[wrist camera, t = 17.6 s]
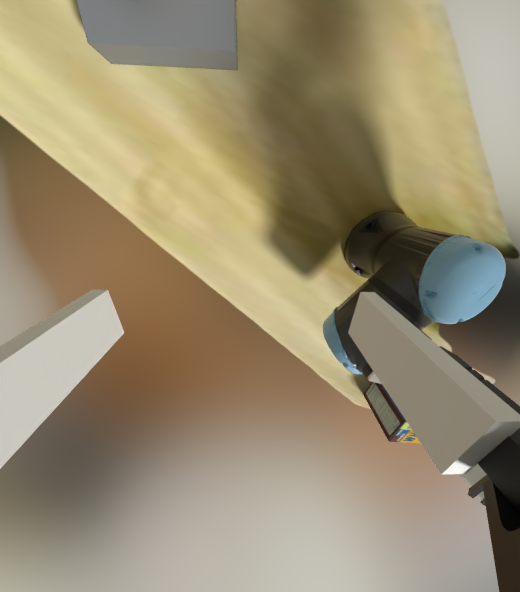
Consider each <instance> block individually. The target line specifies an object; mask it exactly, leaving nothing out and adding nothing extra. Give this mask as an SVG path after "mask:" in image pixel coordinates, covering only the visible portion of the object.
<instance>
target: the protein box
mask: <svg viewBox="0 0 520 592" xmlns="http://www.w3.org/2000/svg"><path fill="white" fill-rule="evenodd" d="M364 397H365V399H366V400H367V402H368V404H369V406H370V408H371V409H372V411H373V413H374V415H375V417H376V419H377V420H378V422H379V424H380V426H381V428H382V429H383V431H384V433H385V435H386V437H387V439H388V440H389V441H390V442H409V443H410V442H411V443H421V442H420V441H419V439H418V438H417V436H416V435H415V433H414V432H413V430H412V429H411V427H410V426H409V424H408V423H407V421H406V420H405V418H404V417H403V415H402V414H401V412H400V411H399V409H398V408H397V406H396V405H395V403H394V402H393V400H392V399H391V397H390V395H389V394H388V392H387V391H386V389H385V388H384V386H383V385H382V384H379V383H375V382H372V384H371V385H370V387H369V388H368V390H367V391H366V393H365V394H364Z"/></svg>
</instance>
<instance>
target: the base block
mask: <svg viewBox="0 0 520 592" xmlns="http://www.w3.org/2000/svg"><path fill="white" fill-rule="evenodd" d="M77 4H78V8H79V11H80V15H81V19H82V23H83V27H84V30H85V34H86V38H87V42H88V43H89V44H90V45H91V46H92V47H93V48H94V49H95V50H96V51H98V52H99V53H100V54H101V55H102V56H103V57H104V58H105V59H107V60H108V61H109V62H110V63H111V64H127V65H147V66H167V67H186V68H206V69H226V70H238V68H237V21H236V0H77Z"/></svg>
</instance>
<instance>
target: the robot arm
mask: <svg viewBox="0 0 520 592" xmlns="http://www.w3.org/2000/svg"><path fill="white" fill-rule="evenodd" d="M345 259H346V262H347V264H348V266H349V267H350V269H351V270H353V271H354V272H355V273H356V274H358V275H359V276H362V277H364V278H368V280H367V281H366V282H365V283H364V284H363V285H362V286H360V287H359V288H358V289H357V290H356V291H355V292H354V293H353V294H352V295H351V296H350V297H348V298H347V299H346V300H345V301H344V302H343V303H342V304H341V305H340V306H339V307H336V308H335V309H334V311H333V313H332V314H331V315H330V316H329V317H328V318H327V319H326V320H325V321H324V324H323V334H324V337H325V340H326V342H327V344H328V346H329V348H330V349H331V351H332V353H333V354H334V355H335V357H336V358H337V359H338V361H339V362H340V363H342V364H343V365H344V367H345V368H346V369H347V370H348V371H350V372H351V373H353V374H357V375H358V374H364V375H365V376H366V378H367V379H368V380H369V381H371V382H375V383H379V384H382V385H383V386H384V388H385V389H386V391H387V392H388V394H389V395H390V397H391V399H392V400H393V402H394V403H395V405H396V406H397V408H398V409H399V411H400V412H401V414H402V415H403V417H404V418H405V420H406V421H407V423H408V424H409V426H410V427H411V429H412V430H413V432H414V433H415V435H416V436H417V438H418V439H419V441H420V442H421V444H422V445H423V447H424V448H425V450H426V451H427V453H428V454H429V456H430V457H431V459H432V461H433V462H434V464H435V465H436V467H437V468H438V470H439V471H440V473H441V474H460V475H461V477H462V478H463V479H464V480H465V481H466V482H467V484H468V485H469V486H470V488H469V493H468V495H469V496H471V497H472V498H474V497H475V496H478V497H479V498H480V499H481V500H482V501H481V503H482V504H483V505H485V506H486V510H487V517H488V523H489V529H490V536H491V542H492V548H493V554H494V560H495V567H496V572H497V579H498V586H499V592H520V406H518V405H517V404H516V403H515V402H514V401H512V400H511V399H510V398H509V397H507V396H506V395H505V394H504V393H502V392H501V391H500V390H499V389H497V388H496V387H495V386H494V385H493V384H491V383H490V382H489V381H488V380H485V379H484V377H483V376H482V375H480V374H479V373H478V372H477V371H475V370H472V367H470V366H469V365H468V364H467V363H465V362H464V361H463V360H462V359H461V358H459V357H458V356H457V355H455V354H453V353H451V352H450V351H448V350H446V349H444V348H443V347H441V346H438V345H437V344H435V343H434V342H433V341H432V339H431V338H430V337H428V336H427V335H426V334H425V333H424V332H422V329H423V328H425V327H426V326H428V325H429V324H430V323H432V322H433V321H436V322H440V323H444V324H454V323H457V322H458V321H460V322H462V321H466V320H468V319H470V318H472V317H474V316H475V315H477V314H478V313H480V312H481V311H482V310H483V309H485V308H486V307H487V306H488V305H489V304H490V303H491V302H492V300H493V299H494V298H495V297H496V295H497V294H498V292H499V290H500V288H501V286H502V282H503V279H504V277H505V271H506V267H505V261H504V258H503V256H502V254H501V253H500V252H499V250H497V249H496V248H495V247H494V246H492V245H490V244H487V243H484V242H481V241H478V240H474V239H472V238H470V237H468V236H465V235H455V234H450V233H445V232H440V231H436V230H431V229H426V228H421V227H418V226H417V225H416V224H415V223H414V222H413V221H412V220H411V219H410V218H409V217H407V216H405V215H403V214H401V213H397V212H390V211H383V212H378V213H375V214H372V215H370V216H368V217H366V218H365V219H364V220H362V221H361V222H360V223H359V224H358V225H357V226H356V227H355V228H354V229H353V230H352V232H351V233H350V235H349V237H348V239H347V242H346V245H345ZM122 334H124V331H123V328H122V326H121V323H120V321H119V318H118V315H117V313H116V310H115V308H114V305H113V302H112V300H111V297H110V295H109V292H108V290H91V291H90V292H88V293H86V294H85V295H83V296H81V297H80V298H79V299H77V300H75V301H73V302H72V303H70V304H68V305H67V306H65V307H64V308H62V309H60V310H59V311H57V312H55V313H54V314H52V315H50V316H49V317H47V318H46V319H44V320H43V321H41V322H39V323H38V324H36V325H35V326H33V327H31V328H29V329H28V330H26V331H25V332H23V333H21V334H20V335H18V336H16V337H15V338H13V339H11V340H10V341H8V342H6V343H5V344H3V345H2V346H0V468H1V467H2V466H3V465H4V464H5V463H6V462H7V461H8V460H9V458H10V457H11V456H12V455H13V454H14V453H15V452H16V451H17V450H18V449H19V447H20V446H21V445H22V444H23V443H24V442H25V441H26V440H27V439H28V438H29V437H30V435H31V434H32V433H33V432H34V431H35V430H36V429H37V428H38V427H39V426H40V424H41V423H42V422H43V421H44V420H45V419H46V418H47V417H48V416H49V415H50V414H51V412H52V411H53V410H54V409H55V408H56V407H57V406H58V405H59V403H61V401H62V400H63V399H64V398H65V397H66V396H67V395H68V394H69V393H70V392H71V391H72V389H73V388H74V387H75V386H76V385H77V384H78V383H79V382H80V381H81V379H82V378H83V377H84V376H85V375H86V374H87V373H88V372H89V371H90V369H92V367H93V366H94V365H95V364H96V363H97V362H98V361H99V360H100V359H101V358H102V357H103V355H104V354H105V353H106V352H107V351H108V350H109V349H110V348H111V347H112V346H113V344H115V342H116V341H117V340H118V339H119V338H120V337H121V336H122Z"/></svg>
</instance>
